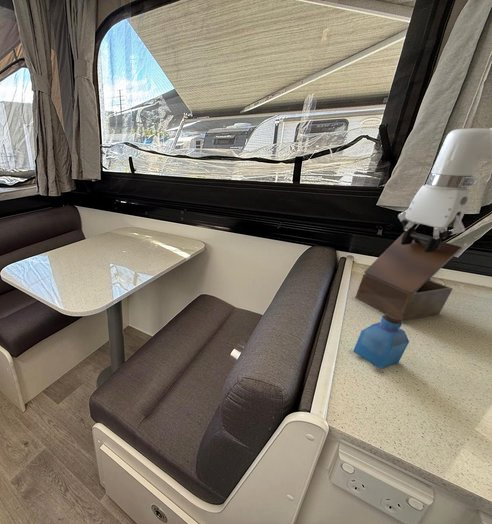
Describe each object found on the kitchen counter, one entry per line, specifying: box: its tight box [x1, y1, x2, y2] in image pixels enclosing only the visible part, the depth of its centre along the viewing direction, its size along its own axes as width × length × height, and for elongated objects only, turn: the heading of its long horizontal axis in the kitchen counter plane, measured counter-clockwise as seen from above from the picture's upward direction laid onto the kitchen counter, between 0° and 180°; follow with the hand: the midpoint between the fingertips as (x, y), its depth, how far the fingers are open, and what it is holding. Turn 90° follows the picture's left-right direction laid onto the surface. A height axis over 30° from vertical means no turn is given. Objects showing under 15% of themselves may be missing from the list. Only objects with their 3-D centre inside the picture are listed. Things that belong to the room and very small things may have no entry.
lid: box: [363, 231, 463, 295], centre depth 77 cm, size 16×14×5 cm
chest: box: [354, 273, 453, 322], centre depth 83 cm, size 16×14×9 cm
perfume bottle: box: [353, 311, 410, 370], centre depth 62 cm, size 6×6×12 cm
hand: (417, 247), depth 76 cm, fingers closed on lid, 5 cm apart
